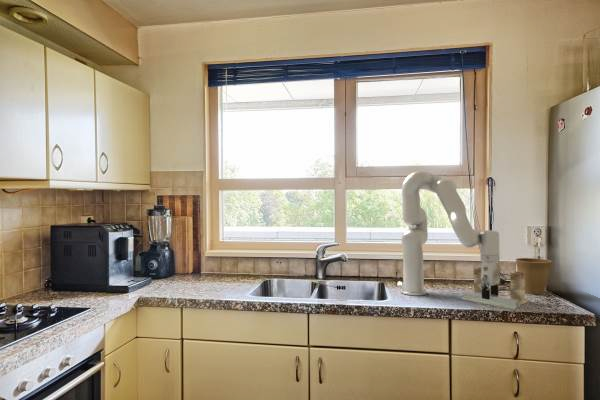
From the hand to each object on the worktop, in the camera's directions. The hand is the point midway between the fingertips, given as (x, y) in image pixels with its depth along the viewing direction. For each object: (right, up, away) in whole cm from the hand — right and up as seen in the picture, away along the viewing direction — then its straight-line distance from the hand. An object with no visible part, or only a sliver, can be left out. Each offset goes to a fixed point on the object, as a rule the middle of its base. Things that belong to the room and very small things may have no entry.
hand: (490, 296), depth 166 cm
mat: (0, -2, 0) cm, 2 cm away
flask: (+14, -2, +25) cm, 29 cm away
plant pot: (+29, -2, +16) cm, 34 cm away
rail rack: (+7, -2, +7) cm, 10 cm away
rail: (0, -2, 0) cm, 2 cm away
